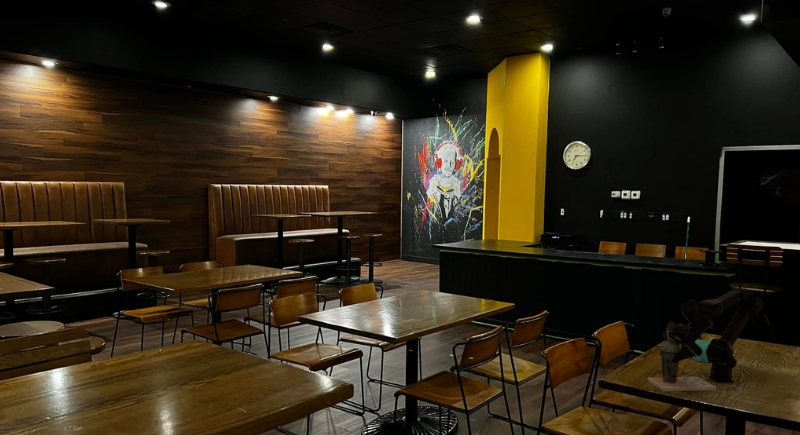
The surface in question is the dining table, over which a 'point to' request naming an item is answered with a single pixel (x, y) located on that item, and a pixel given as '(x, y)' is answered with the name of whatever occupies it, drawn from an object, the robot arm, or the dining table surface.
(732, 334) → the robot arm
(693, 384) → the baseplate
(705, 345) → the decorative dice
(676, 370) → the beverage cup
